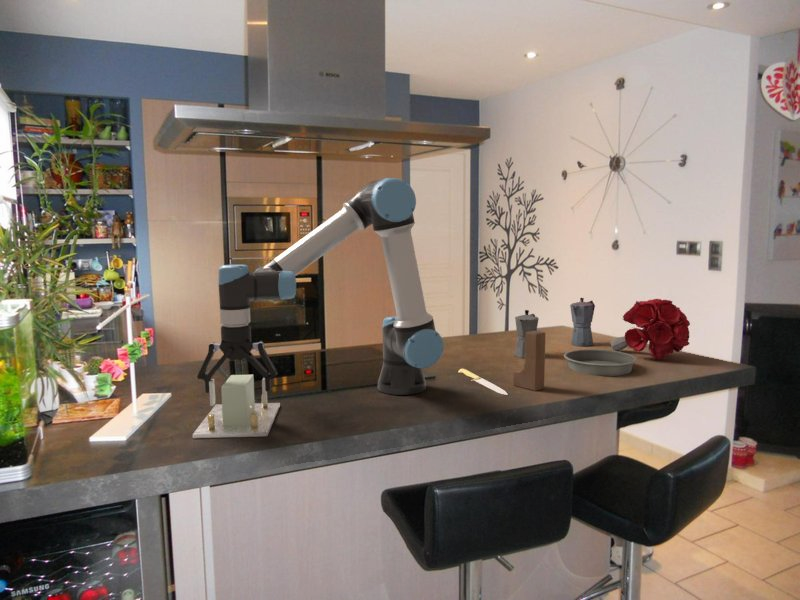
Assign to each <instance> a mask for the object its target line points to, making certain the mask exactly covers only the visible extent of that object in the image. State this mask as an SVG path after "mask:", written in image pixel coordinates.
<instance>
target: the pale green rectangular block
mask: <svg viewBox="0 0 800 600" xmlns="http://www.w3.org/2000/svg"><path fill="white" fill-rule="evenodd" d="M220 389H221V390H220V391H221V394H220V395H221V404H222V415H223V425H247V424H248V422H249V420H250V418H251V414H252V413H254V411H255V403H256V402H255V379H254V374H231V375H230V376H229V377H228V378H227V380H226V381H225V382H224V383H223V384H222V385H221V387H220Z"/></svg>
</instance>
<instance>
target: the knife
mask: <svg viewBox="0 0 800 600" xmlns="http://www.w3.org/2000/svg"><path fill="white" fill-rule="evenodd" d="M458 373H460V374H461V373H462V374H464V375H465V376H467V377H470V378H472V379H471V380H470V381H471V382H472V381H475V382H476V383H478V384H479V385H482V386H484V387H486V388H488V389H490V390H491V391H494V392H496V393H498V394H501V395H505V396H508V393H507V391H505V389H502V388H501V387H499V386H497V385H496V384H494V383H492V382H490V381H489V380H487V379H484V378H482V377H480V376H479V375H477V374H475V373H473V372H472V371H470V370H468V369H466V368H459V370H458Z"/></svg>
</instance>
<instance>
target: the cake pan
mask: <svg viewBox="0 0 800 600" xmlns="http://www.w3.org/2000/svg"><path fill="white" fill-rule="evenodd" d="M563 357H564V359H566V360H567V361H566V362H567V365H568V368H569V369H570V370H573V371H575V372H577V373H580V374H581V373H582V374H585V375H593V376H604V377H605V376H607V377H608V376H611V377H612V376H623V375H627V374H630V373H631V372H632V371H633V367H634V364H635V363H636V362H637V361H638V358H637V357H636V356H635V355H632V354H629V353H626V352H621V351H614V350H610V349H595V348H594V349H592V348H591V349H590V348H589V349H588V348H586V349H576V350H570V351H567V352H565V353H564V354H563Z"/></svg>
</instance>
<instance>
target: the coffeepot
mask: <svg viewBox="0 0 800 600" xmlns="http://www.w3.org/2000/svg"><path fill="white" fill-rule="evenodd" d="M529 313H530V310H528V309H525V310H524V314H523V315H522V314H521V315H518V316H515V317H514V318H515V327H516V335H517V339H516V343H515V348H514V349H515V350H514V356H515V357H516V358H519V359H525V342H526V332H530V331H538V324H539V317H538V316H536V315H535V314H534V313H531V314H529Z"/></svg>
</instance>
